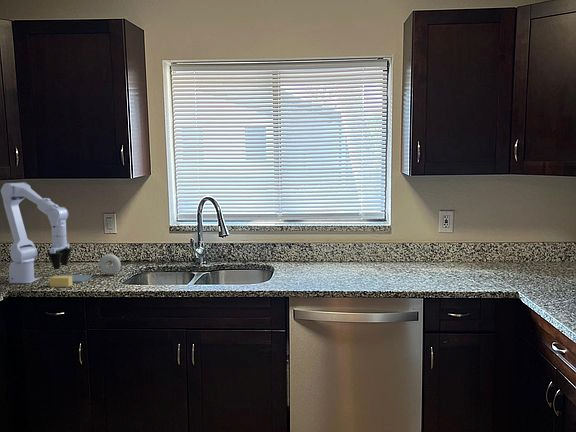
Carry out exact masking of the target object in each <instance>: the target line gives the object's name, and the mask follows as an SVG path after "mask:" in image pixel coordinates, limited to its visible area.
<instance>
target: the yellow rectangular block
mask: <svg viewBox="0 0 576 432" xmlns="http://www.w3.org/2000/svg"><path fill="white" fill-rule="evenodd" d="M73 284H74V283H73V282H72V276H61V275H52V276H50V277H49V287H50V288H53V287H54V288H55V287H57V288H59V287H60V288H69V287H70V286H72V285H73Z"/></svg>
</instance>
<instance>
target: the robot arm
mask: <svg viewBox="0 0 576 432" xmlns="http://www.w3.org/2000/svg"><path fill="white" fill-rule="evenodd" d="M0 193H1V197H2V201H3V202H2V203H3V207H4V210H5V214H6V218H7V221H8V224H9V228H10V231H11V232H10V233H11V235H12V236H11V237H12V239H13V243H12V244H11V245H10V247H9V250H10V254H9V256H10V259H11V261H12V262H10V264H9V267H8V276H9V282H8V284H32V283H33V282H36V281H38V280H39V278H38V277H35V264H34V263H35V262H34V261H36V259H37V257H38V250H37V248H36V246H35V245H34V242H33V241H32V240H30V239H28V235H27V232H26V229H25V225H24V221H23V217H22V214H21V210H20V206H19V204H21V202H22V201H24V200H25V198H26V199H28V200H29V201H31V202H32V203H34V204H36V205H37V206H36V208H37V209H38V210H39V211H40V212H42V213H43V214H45V215H46V216H47V219H48V220H49V223H50V224H49V225H50V226H51V245H52V246H51V248H49V252H47V257H48V258H49V259H50V262H51V264H52V268H53V270H60V268H61V266H68V262H69V257H70V254H71V252H72V248H71V246H70V243H69V242H68V241H67V220H68V218H69V217H70V216H69V211H68V209H67V208H66V207H64V206H59V204H56V203H54V201H51V200H52V199H50V198H49V197H48V198H47V197H44V198H43V197H42V196H40V195H39V194H38V193H37V192H36V191H35V190H33V189H32V188H31V185H30V184H28V183H27V182H25V181H22V182H5V183H4V184H3V185H2V187H1V189H0Z"/></svg>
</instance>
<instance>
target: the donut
mask: <svg viewBox="0 0 576 432" xmlns="http://www.w3.org/2000/svg"><path fill="white" fill-rule="evenodd" d="M108 262H111V263H112V266H111V267H109V266H108ZM98 263H99V264H98V265H99V269H100V271H101V272H102V273H103V274H105V275H108V276H112V275H115V274H117V273H118V272H119V271H120V269H121V265H122V263H121V260H120V258H119V257H118V256H117V255H115V254H112V253H108V254H104V255H103V256H102V257H101V258H100V260H99V262H98Z"/></svg>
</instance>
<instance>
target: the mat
mask: <svg viewBox="0 0 576 432" xmlns="http://www.w3.org/2000/svg"><path fill="white" fill-rule="evenodd" d="M60 276H72V282H73V284H83V283H85V282H86V281H87V280H89V279H91V278H92V277H93V274H62V275H60Z"/></svg>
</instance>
